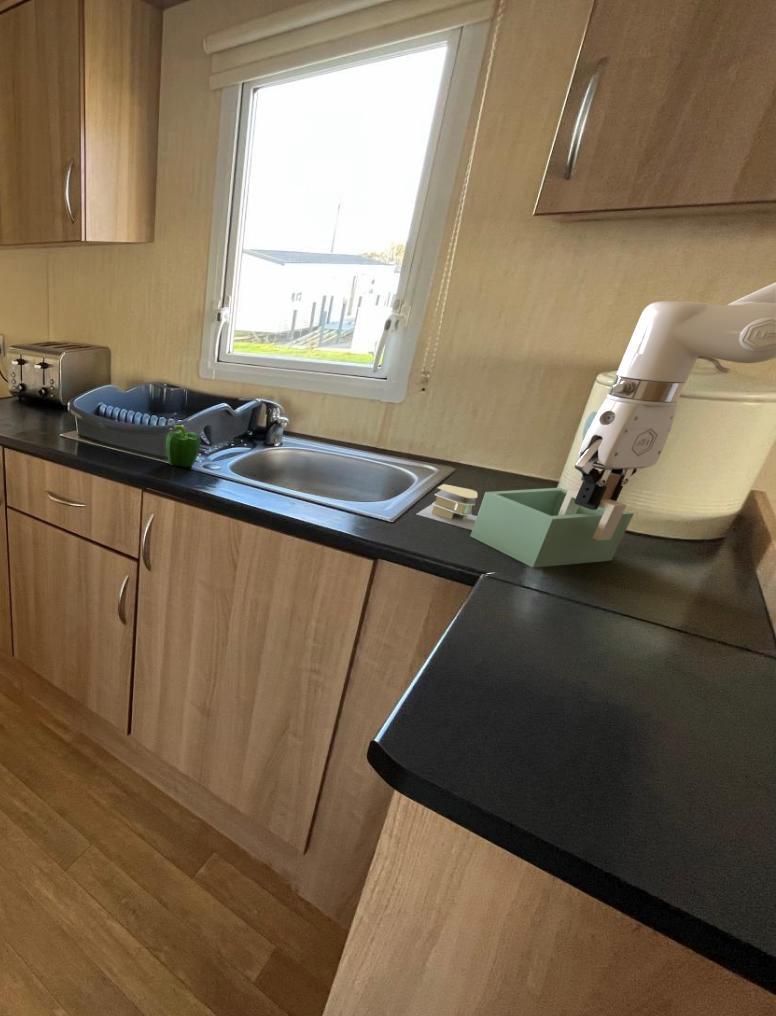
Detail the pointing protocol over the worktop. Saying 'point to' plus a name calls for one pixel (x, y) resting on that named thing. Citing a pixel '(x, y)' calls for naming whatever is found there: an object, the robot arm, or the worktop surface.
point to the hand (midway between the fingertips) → (593, 505)
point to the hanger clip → (611, 506)
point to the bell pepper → (182, 447)
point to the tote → (543, 528)
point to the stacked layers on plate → (452, 506)
